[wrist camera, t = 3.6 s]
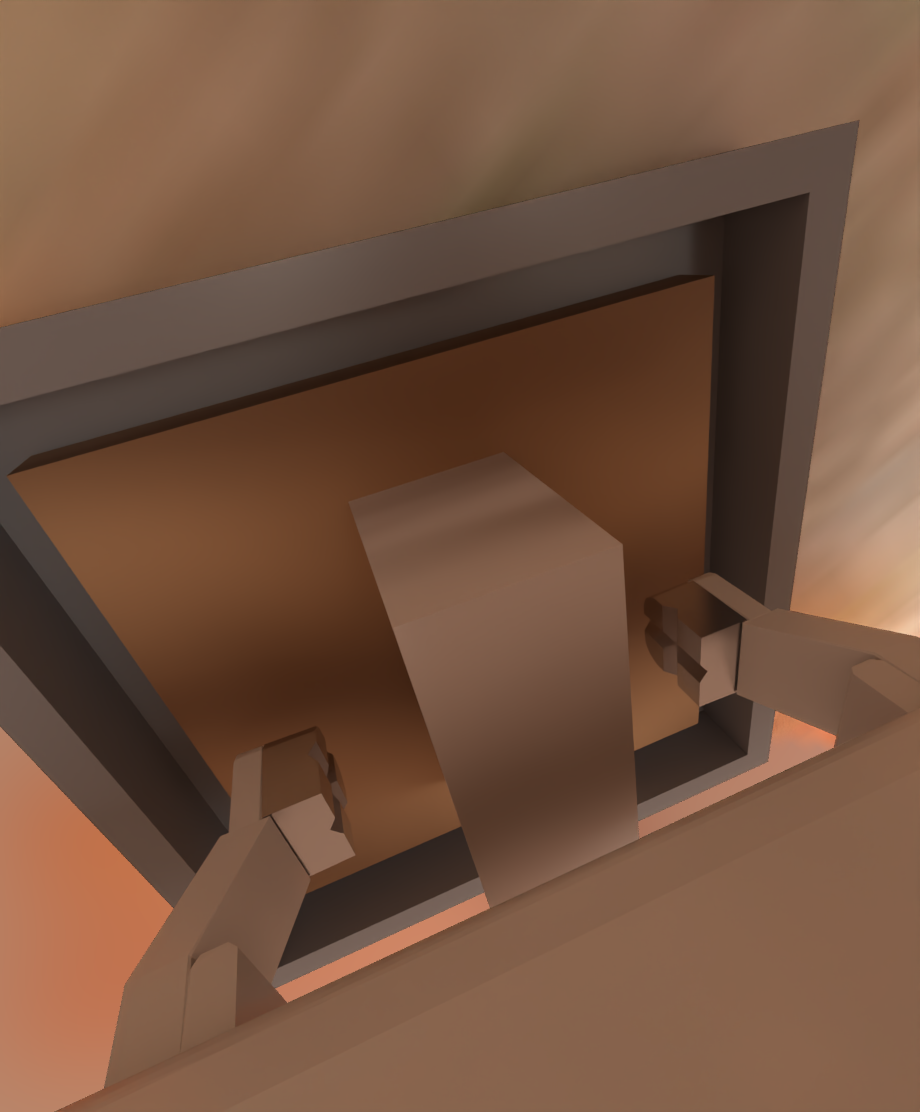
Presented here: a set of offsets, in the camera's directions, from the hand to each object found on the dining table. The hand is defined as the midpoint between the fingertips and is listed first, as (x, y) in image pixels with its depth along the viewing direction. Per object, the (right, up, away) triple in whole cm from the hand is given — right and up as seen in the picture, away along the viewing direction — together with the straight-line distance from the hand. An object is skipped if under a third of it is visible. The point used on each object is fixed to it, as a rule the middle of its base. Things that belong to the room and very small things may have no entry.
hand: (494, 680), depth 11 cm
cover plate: (-1, +1, +2) cm, 2 cm away
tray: (-1, +1, +2) cm, 3 cm away
